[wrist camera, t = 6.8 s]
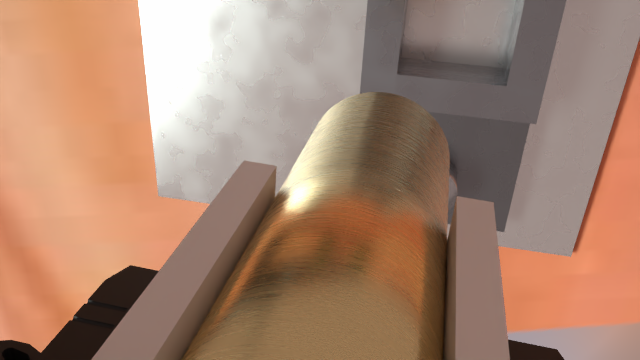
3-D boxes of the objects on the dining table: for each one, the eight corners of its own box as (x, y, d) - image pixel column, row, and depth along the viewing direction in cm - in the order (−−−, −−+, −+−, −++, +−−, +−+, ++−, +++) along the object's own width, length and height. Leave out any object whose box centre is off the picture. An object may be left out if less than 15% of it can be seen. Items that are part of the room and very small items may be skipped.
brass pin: (315, 82, 16) (44, 463, 6) (462, 103, 15) (468, 574, 5) (306, 206, 18) (91, 664, 7) (436, 230, 17) (401, 763, 7)
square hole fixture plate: (109, -336, 27) (35, -379, 22) (751, -335, 23) (831, -388, 18) (161, 192, 40) (122, 236, 35) (569, 252, 36) (587, 310, 31)
